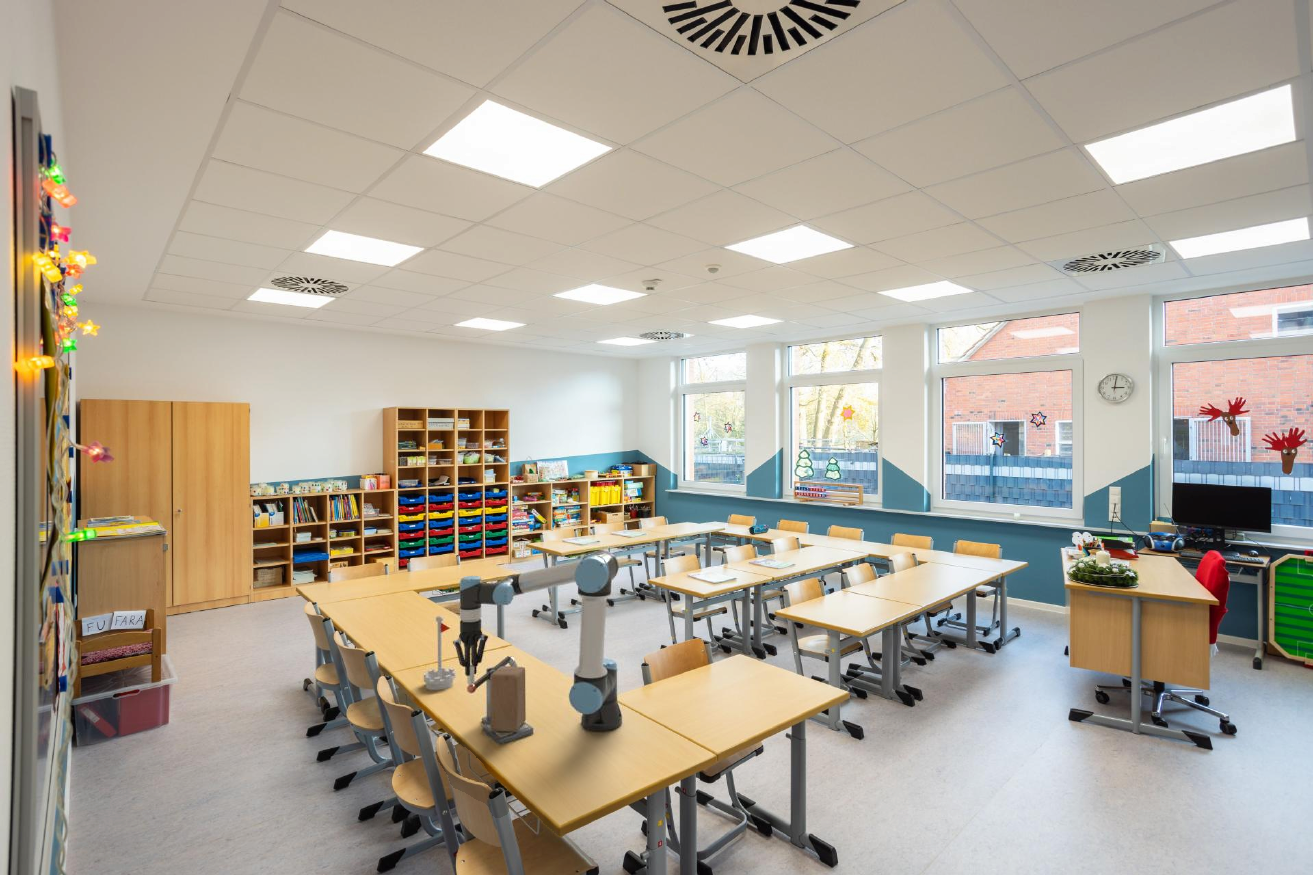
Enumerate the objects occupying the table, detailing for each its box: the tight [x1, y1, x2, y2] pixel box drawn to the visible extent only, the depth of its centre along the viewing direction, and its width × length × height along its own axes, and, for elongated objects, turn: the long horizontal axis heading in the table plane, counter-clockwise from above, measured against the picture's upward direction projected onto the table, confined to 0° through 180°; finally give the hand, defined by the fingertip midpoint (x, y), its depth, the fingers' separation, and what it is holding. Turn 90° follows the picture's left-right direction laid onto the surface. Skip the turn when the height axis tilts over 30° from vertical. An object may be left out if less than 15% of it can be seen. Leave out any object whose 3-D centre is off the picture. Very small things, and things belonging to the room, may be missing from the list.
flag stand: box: [423, 615, 457, 691], centre depth 274 cm, size 13×13×30 cm
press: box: [481, 666, 534, 746], centre depth 232 cm, size 22×13×20 cm, turn 40°
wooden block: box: [490, 665, 527, 732], centre depth 229 cm, size 10×10×20 cm
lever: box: [466, 655, 518, 694], centre depth 238 cm, size 3×20×6 cm, turn 130°
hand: (470, 683), depth 232 cm, fingers closed
